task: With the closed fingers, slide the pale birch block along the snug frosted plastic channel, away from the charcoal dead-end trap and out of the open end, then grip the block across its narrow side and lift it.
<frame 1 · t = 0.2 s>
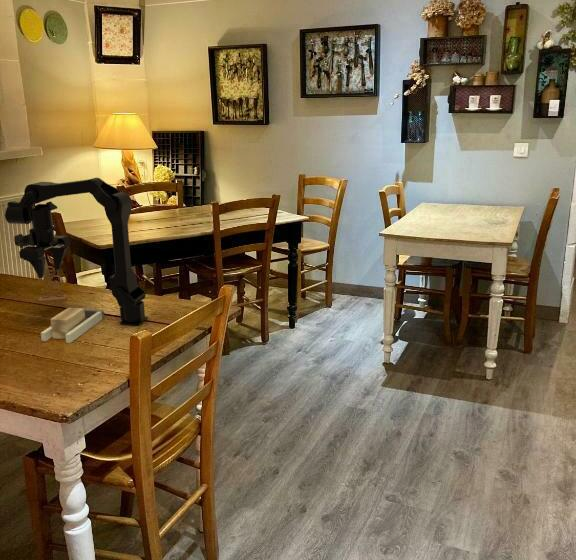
hand: (49, 273, 182), 14 cm above the table, tool pointing down, fingers open, 9 cm apart
gingerbread man figurine: (53, 300, 201), on the table
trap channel: (73, 329, 175), on the table
birch block: (70, 332, 174), resting in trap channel
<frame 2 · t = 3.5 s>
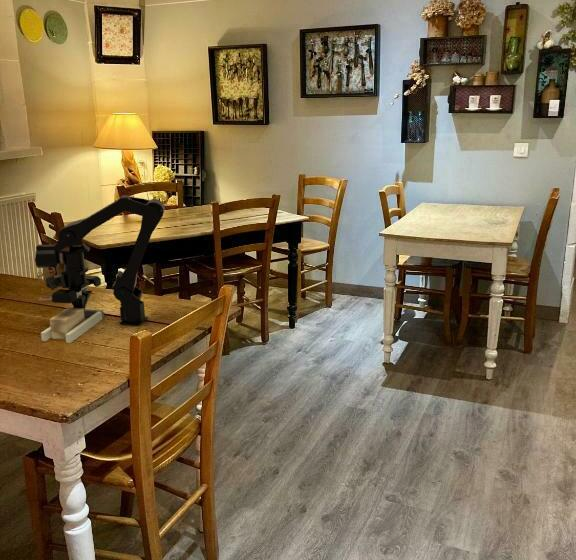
hand: (80, 315, 179), 3 cm above the table, tool pointing down, fingers closed
birch block: (69, 332, 173), resting in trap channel, touching gripper
everything else where it was.
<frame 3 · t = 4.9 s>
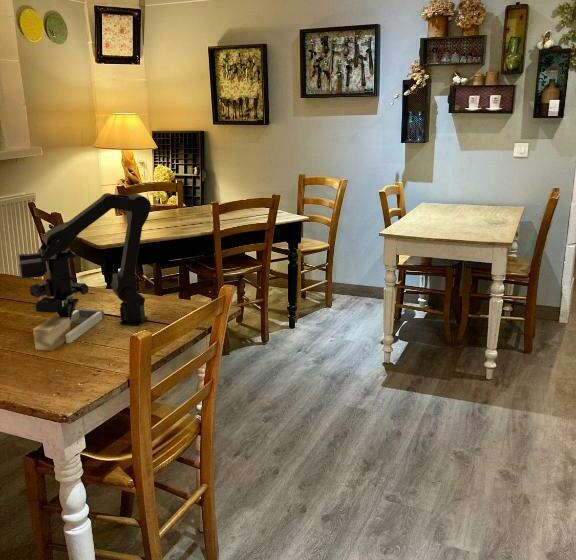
hand: (66, 324, 171), 3 cm above the table, tool pointing down, fingers closed
birch block: (54, 342, 166), on the table, touching gripper
everything else where it was.
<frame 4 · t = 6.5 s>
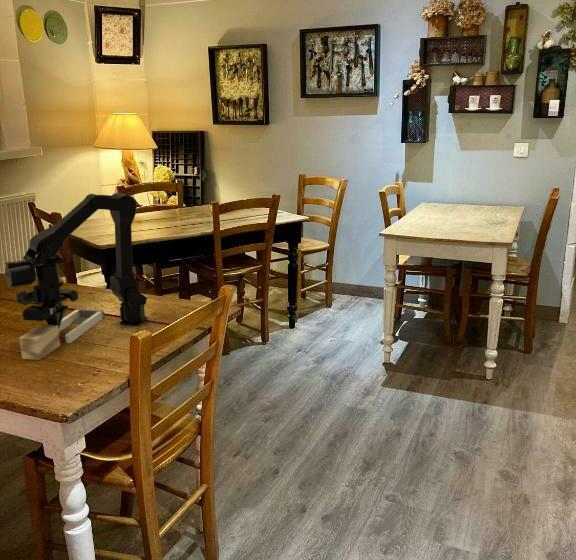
hand: (55, 332, 166), 3 cm above the table, tool pointing down, fingers closed
birch block: (41, 351, 160), on the table, touching gripper
everything else where it was.
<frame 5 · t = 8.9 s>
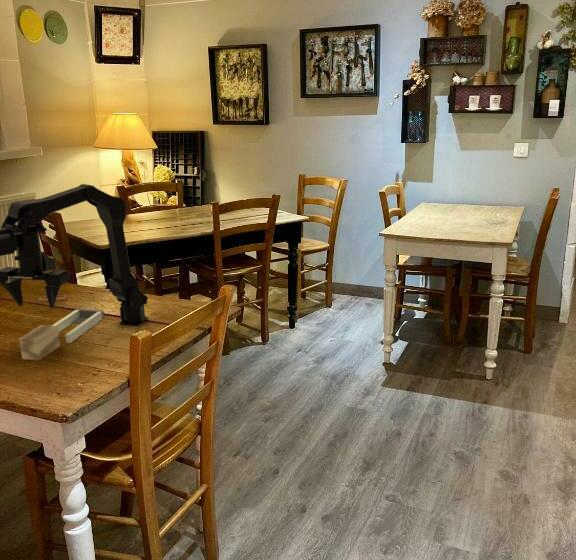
hand: (36, 306, 156), 13 cm above the table, tool pointing down, fingers open, 9 cm apart
birch block: (41, 352, 160), on the table
everything else where it was.
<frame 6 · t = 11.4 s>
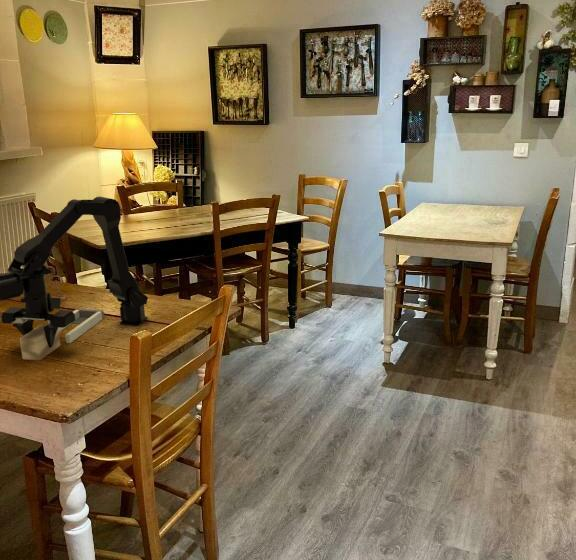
hand: (42, 346, 160), 2 cm above the table, tool pointing down, fingers closed on birch block, 5 cm apart
birch block: (42, 352, 160), on the table, touching gripper
everything else where it was.
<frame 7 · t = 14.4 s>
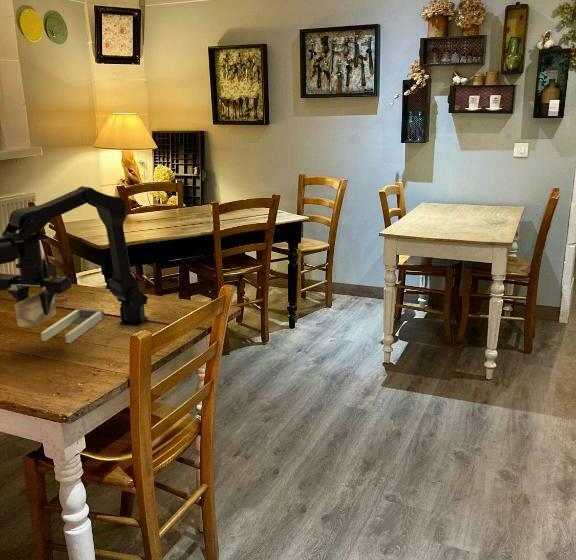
hand: (37, 314, 157), 11 cm above the table, tool pointing down, fingers closed on birch block, 5 cm apart
birch block: (37, 319, 157), point 9 cm above the table, touching gripper
everything else where it was.
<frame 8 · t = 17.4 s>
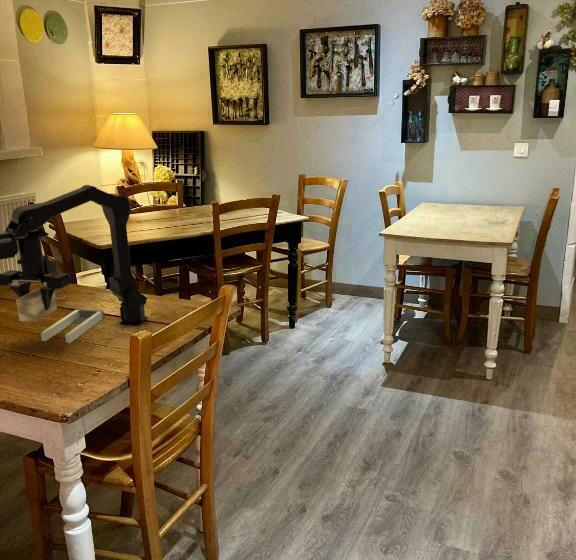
hand: (38, 309, 161), 11 cm above the table, tool pointing down, fingers closed on birch block, 5 cm apart
birch block: (38, 314, 161), point 9 cm above the table, touching gripper
everything else where it was.
at the end: the gripper is holding birch block; birch block point 9.4 cm above the table; birch block touching gripper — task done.
